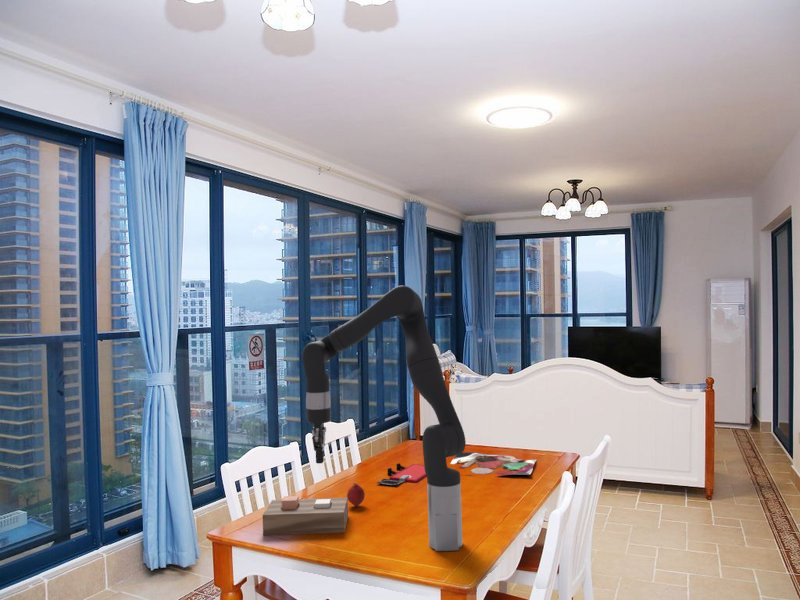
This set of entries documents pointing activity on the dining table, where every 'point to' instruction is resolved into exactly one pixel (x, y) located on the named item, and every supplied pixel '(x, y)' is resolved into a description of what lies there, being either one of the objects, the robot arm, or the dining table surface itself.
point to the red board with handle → (405, 474)
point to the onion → (355, 495)
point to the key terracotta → (290, 502)
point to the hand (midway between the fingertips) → (319, 462)
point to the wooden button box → (305, 518)
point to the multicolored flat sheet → (494, 463)
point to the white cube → (323, 503)
